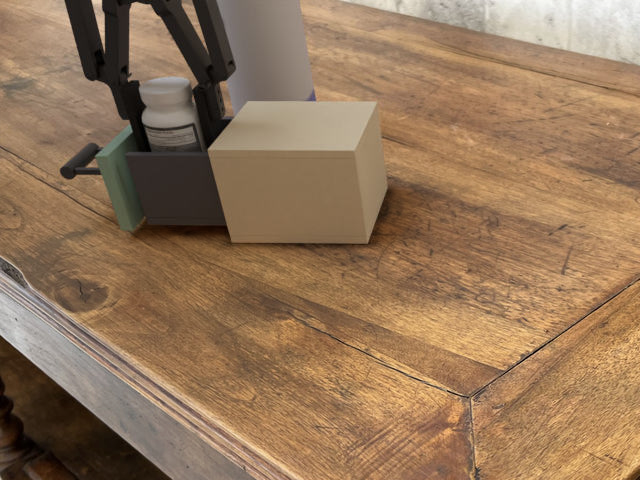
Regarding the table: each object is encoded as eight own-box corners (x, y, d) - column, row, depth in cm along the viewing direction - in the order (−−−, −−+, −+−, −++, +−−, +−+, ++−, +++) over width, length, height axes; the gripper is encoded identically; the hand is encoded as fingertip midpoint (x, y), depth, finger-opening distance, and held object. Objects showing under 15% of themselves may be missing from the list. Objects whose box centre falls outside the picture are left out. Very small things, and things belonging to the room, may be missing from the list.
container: (236, 127, 102) (195, -46, 90) (314, 116, 105) (285, -54, 92) (244, 157, 95) (201, -28, 83) (328, 144, 98) (298, -37, 85)
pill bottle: (182, 168, 84) (154, 72, 78) (231, 173, 83) (207, 76, 77) (151, 191, 80) (119, 92, 74) (202, 197, 79) (174, 96, 73)
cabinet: (231, 242, 79) (207, 149, 73) (266, 187, 89) (247, 101, 83) (367, 244, 78) (354, 150, 72) (387, 187, 88) (377, 101, 82)
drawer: (65, 230, 79) (34, 155, 74) (113, 181, 88) (89, 111, 83) (245, 232, 79) (226, 156, 74) (276, 182, 88) (261, 111, 83)
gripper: (-34, -114, 62) (71, 165, 77) (207, -116, 62) (267, 166, 76) (16, -127, 68) (105, 135, 83) (236, -128, 68) (287, 136, 82)
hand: (183, 150), depth 80 cm, fingers open, 6 cm apart
